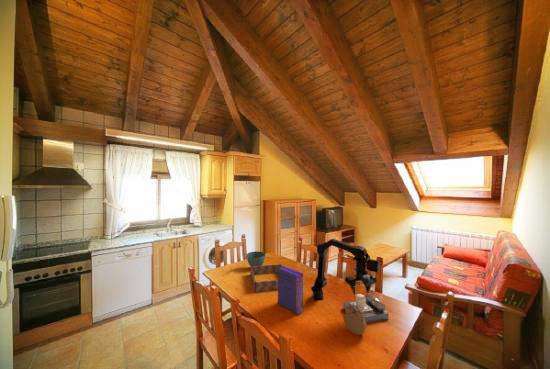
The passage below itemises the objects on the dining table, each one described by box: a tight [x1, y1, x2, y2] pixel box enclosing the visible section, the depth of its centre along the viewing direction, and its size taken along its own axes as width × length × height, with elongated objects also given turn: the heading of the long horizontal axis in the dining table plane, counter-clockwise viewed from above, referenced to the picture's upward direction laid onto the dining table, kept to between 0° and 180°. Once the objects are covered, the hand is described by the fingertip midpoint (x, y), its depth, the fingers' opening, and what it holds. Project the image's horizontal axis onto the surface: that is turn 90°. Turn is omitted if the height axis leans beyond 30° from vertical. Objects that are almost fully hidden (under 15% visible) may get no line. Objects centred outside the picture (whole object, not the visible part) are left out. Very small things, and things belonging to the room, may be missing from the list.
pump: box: [353, 293, 368, 311], centre depth 127 cm, size 6×8×7 cm
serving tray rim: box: [249, 263, 283, 293], centre depth 169 cm, size 28×30×7 cm
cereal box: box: [277, 265, 304, 315], centre depth 134 cm, size 17×5×24 cm, turn 45°
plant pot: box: [246, 250, 267, 267], centre depth 197 cm, size 18×18×12 cm
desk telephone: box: [342, 292, 390, 324], centre depth 127 cm, size 20×16×9 cm
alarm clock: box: [343, 305, 368, 336], centre depth 110 cm, size 11×5×15 cm, turn 47°
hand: (360, 293), depth 126 cm, fingers open, 9 cm apart
